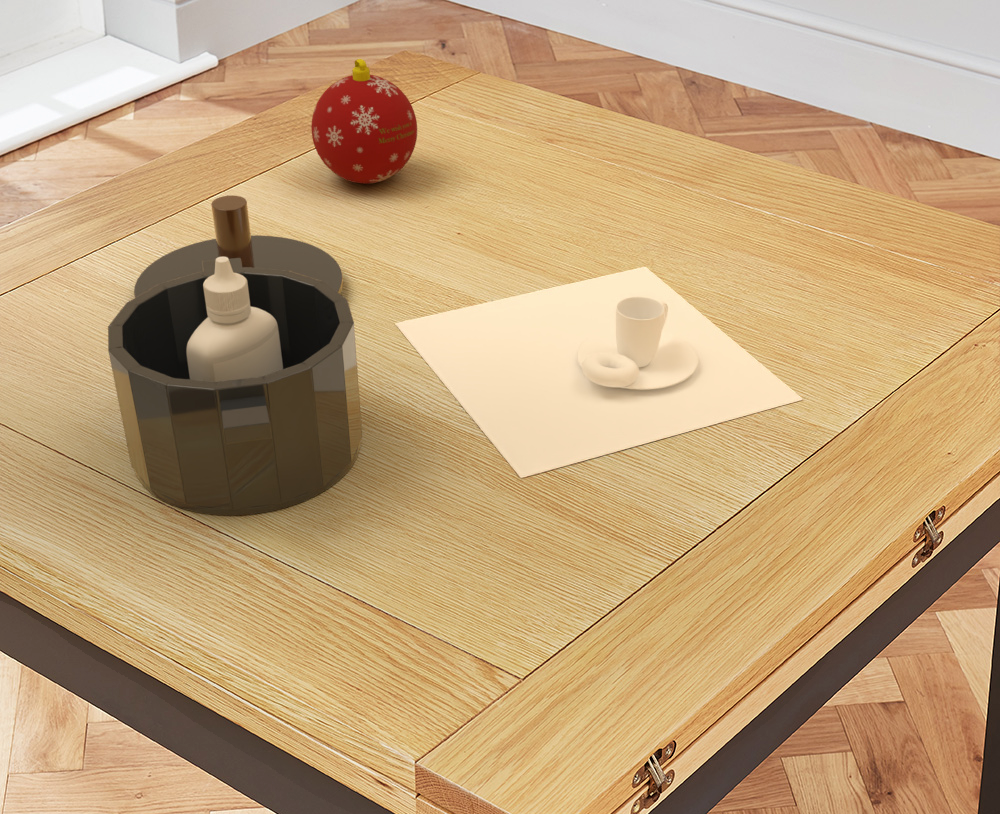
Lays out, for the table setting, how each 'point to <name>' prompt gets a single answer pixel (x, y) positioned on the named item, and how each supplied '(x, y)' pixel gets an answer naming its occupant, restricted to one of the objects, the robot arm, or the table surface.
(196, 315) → the dark grey open cylinder
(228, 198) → the lid
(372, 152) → the christmas ornament
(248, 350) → the eye dropper bottle
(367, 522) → the table surface
